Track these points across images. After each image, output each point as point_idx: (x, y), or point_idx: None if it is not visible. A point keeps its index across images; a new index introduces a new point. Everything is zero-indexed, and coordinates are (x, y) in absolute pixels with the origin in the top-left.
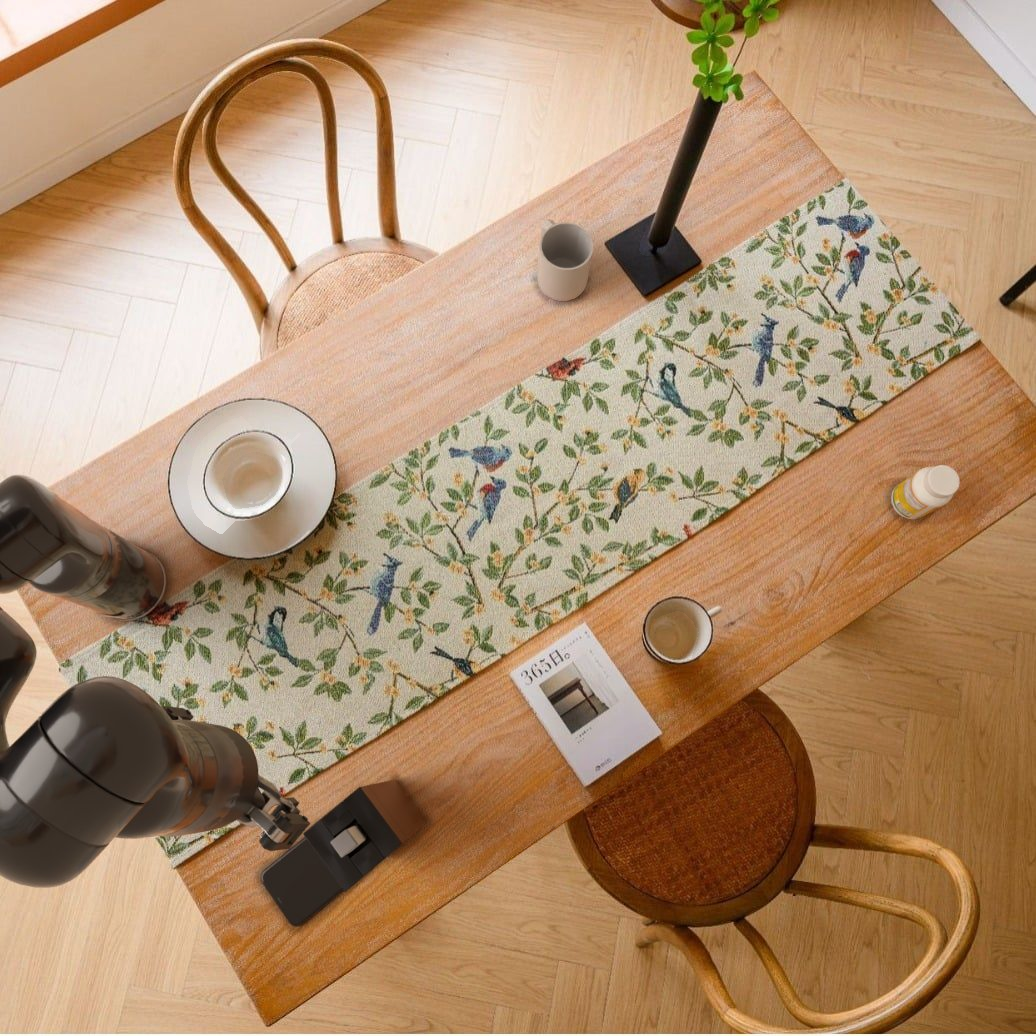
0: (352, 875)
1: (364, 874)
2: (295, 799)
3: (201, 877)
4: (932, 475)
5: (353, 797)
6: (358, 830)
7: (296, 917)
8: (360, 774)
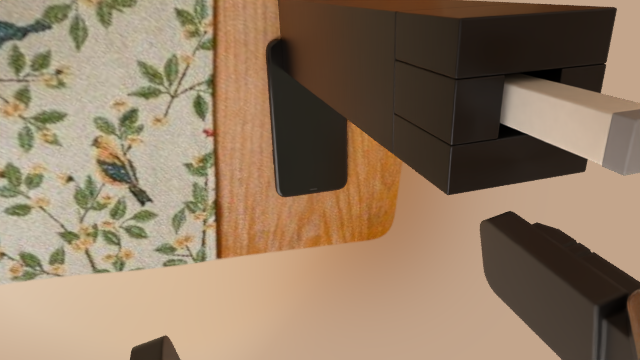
0: None
1: None
2: (501, 219)
3: (243, 247)
4: None
5: (468, 49)
6: (525, 82)
7: (338, 181)
8: (245, 35)
